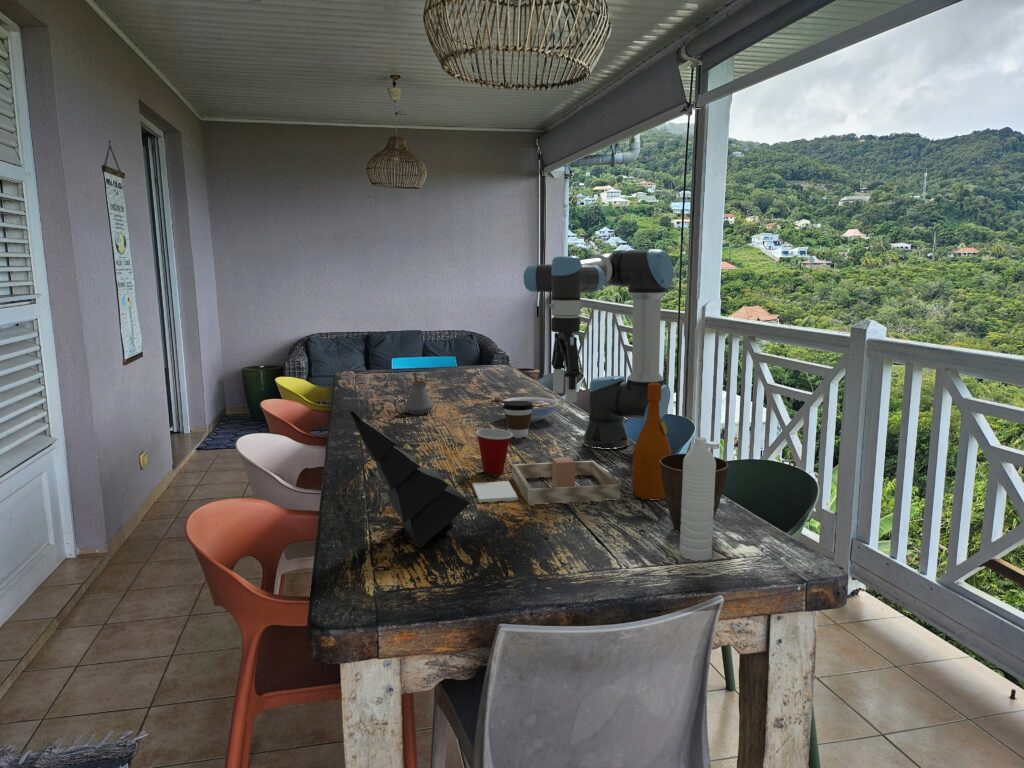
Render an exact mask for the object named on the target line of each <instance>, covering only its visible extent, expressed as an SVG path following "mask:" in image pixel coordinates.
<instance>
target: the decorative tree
mask: <svg viewBox="0 0 1024 768" xmlns="http://www.w3.org/2000/svg"><path fill="white" fill-rule="evenodd" d="M349 413H350V416H351V417H352V419H353V422H354V424H355V426H356V429H357V431H358V433H359V436H360V438H361V441H362V442H363V445H364V447H365V449H366V450H367V452H368V454H369V456H370V458H371V460H372V461H374V462H375V464H376V467H377V470H378V472H379V475H380V476H381V477H382V479H383V481H384V482H385V483H386V486H387V487H388V491H389V499H390V505H391V507H392V509H393V511H394V512H395V513H396V514H397V516H399V517H400V519H401V521H402V528H403V529H404V531H406V532H407V535H408V536H409V539H410V540H411V539H412V540H413V541H414V542H415V543H414V542H413V541H412V540H411V541H412V542H413V543H414V544H415V546H416V545H417V546H418V547H417V546H416V547H417V548H418V549H419V548H420V549H421V548H422V547H424V546H425V544H427V543H428V542H429V541H430V540H431V539H432V538H433V537H435V536H436V535H437V534H440V535H446V534H447V533H449V532H450V531H451V529H452V528H453V526H454V523H453V522H452V521H453V520H454V519H455V518H456V517H457V516H458V515H459V514H460V513H462V511H464V510H465V509H466V508H467V507H468V506H469V505H470V504H471V502H470V501H469V500H468V499H467V498H466V497H465V496H464V495H463V494H462V493H461V492H459V491H458V490H456V488H454V487H453V485H452V484H450V483H448V482H447V481H446V480H445V479H444V478H443V476H442V475H440V473H439V472H437V471H436V470H434V469H432V468H428V467H425V466H421V465H419V464H418V462H417V461H416V459H415V457H414V456H413V455H411V454H409V453H408V452H406V451H404V450H402V449H400V448H399V447H396V446H397V443H396V442H395V441H394V440H392V439H391V438H390V437H389V436H388V435H386V434H385V433H383V431H381V430H379V429H377V428H376V427H375V426H374V425H372V424H370V423H369V422H366V421H365V420H363V419H362V418H361V417H359V415H358V414H356V413H355V412H354V411H353V410H350V411H349Z"/></svg>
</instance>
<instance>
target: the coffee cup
mask: <svg viewBox="0 0 1024 768" xmlns="http://www.w3.org/2000/svg"><path fill="white" fill-rule="evenodd" d="M503 408H504V409H505V411H504V416H505V423H506V428H507V431H508V432H511V433H512V434H513V436H512V437H515V438H514V439H523V438H522V437H525V438H527V437H528V435H529V428H530V427H531V426H530V425H531V423H530V420H531V414H532V413H531V411H532V409H533V408H534V406H533V404H532V403H531V402H529V401H508V402H505V403H504V405H503ZM503 408H502V409H503ZM504 409H503V410H504ZM512 437H511V438H512Z"/></svg>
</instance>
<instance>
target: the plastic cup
mask: <svg viewBox="0 0 1024 768" xmlns="http://www.w3.org/2000/svg"><path fill="white" fill-rule="evenodd" d="M475 435H476V437H477V442H478V446H479V453H480V460H481V462H482V463H481V464H482V470H483V473H484V474H487V475H500V474H504V471H505V466H506V465H505V464H506V462H507V461H506V460H507V454H508V450H509V449H508V448H509V444H510V442H511V438H512V436H513V434H512V433H511V432H508V430H503V429H499V428H481V429H478V430H476V431H475Z"/></svg>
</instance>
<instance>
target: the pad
mask: <svg viewBox="0 0 1024 768" xmlns="http://www.w3.org/2000/svg"><path fill="white" fill-rule="evenodd" d="M472 489H473V492H474V494H475V497H476V496H477V497H476V499H477V501H479V502H478V503H479V504H483V503H482V502H488V503H498V502H497V501H506V502H516V501H515V500H518V501H519V497H518V495H517V493H516V491H515V490H514V488H513V486H512V484H511V483H510V481H509V480H505V481H486V482H482V481H481V482H472Z"/></svg>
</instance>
